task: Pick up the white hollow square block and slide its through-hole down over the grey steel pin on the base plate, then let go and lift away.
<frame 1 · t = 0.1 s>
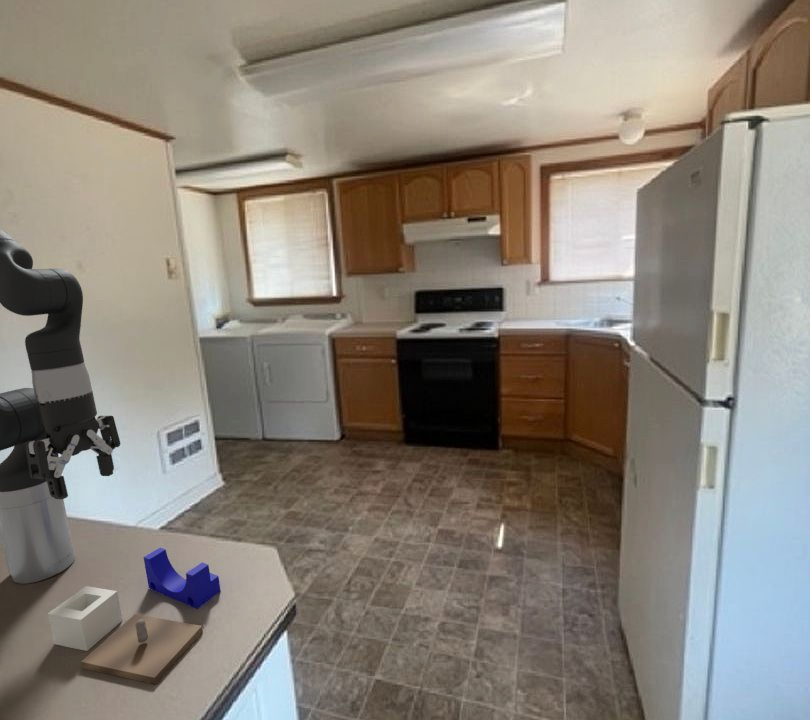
hand: (85, 486, 79), 17 cm above the counter, tool pointing down, fingers open, 8 cm apart
pin base: (144, 649, 65), on the counter
blue curved saddle bracket: (184, 591, 78), on the counter
white hollow square block: (89, 631, 69), on the counter
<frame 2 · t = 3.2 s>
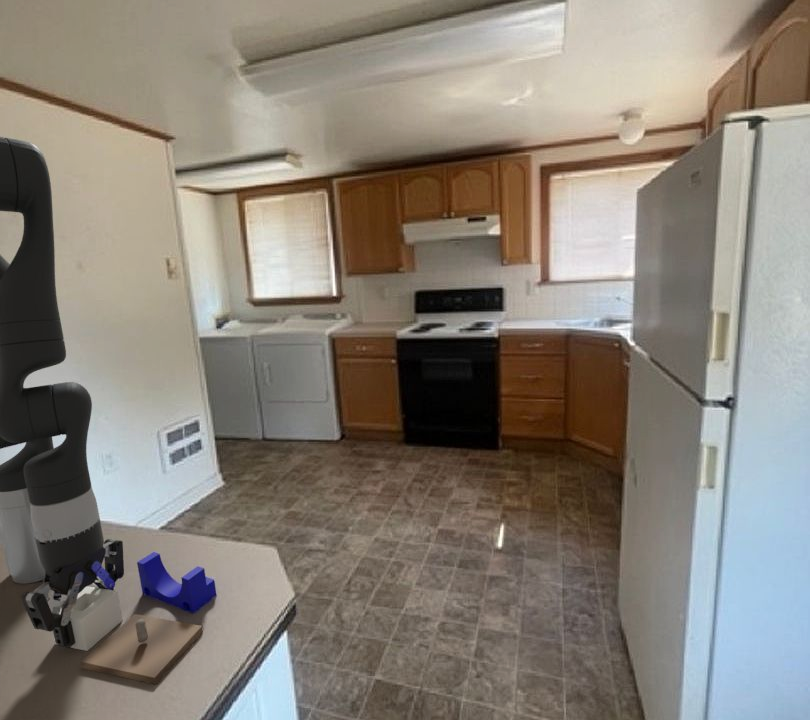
hand: (88, 627, 69), 1 cm above the counter, tool pointing down, fingers closed on white hollow square block, 6 cm apart
blue curved saddle bracket: (179, 596, 77), on the counter
white hollow square block: (89, 631, 69), on the counter, touching gripper
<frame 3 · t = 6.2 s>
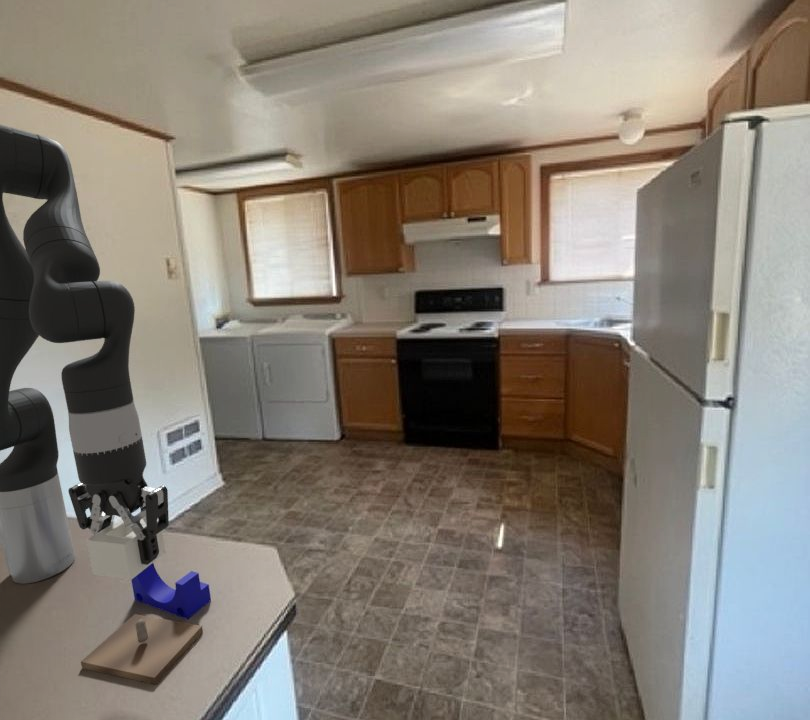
hand: (129, 557, 63), 14 cm above the counter, tool pointing down, fingers closed on white hollow square block, 6 cm apart
blue curved saddle bracket: (172, 602, 75), on the counter
white hollow square block: (130, 563, 63), point 13 cm above the counter, touching gripper
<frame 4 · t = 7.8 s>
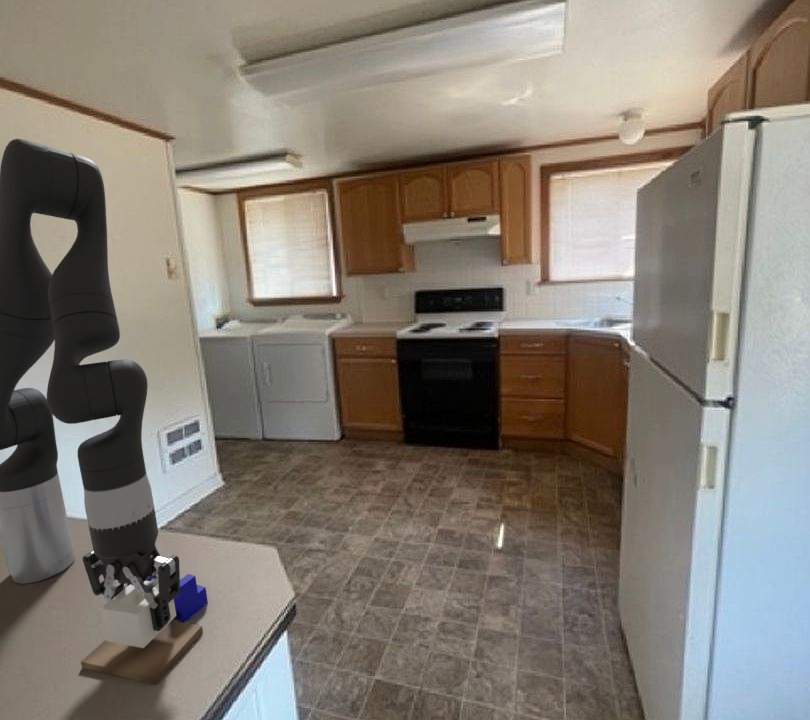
hand: (141, 622, 65), 4 cm above the counter, tool pointing down, fingers closed on white hollow square block, 6 cm apart
white hollow square block: (142, 628, 65), point 3 cm above the counter, touching gripper
when the fingers open (3 cm above the counter, at t = 9.1 s): white hollow square block stays where it is, resting on pin base.
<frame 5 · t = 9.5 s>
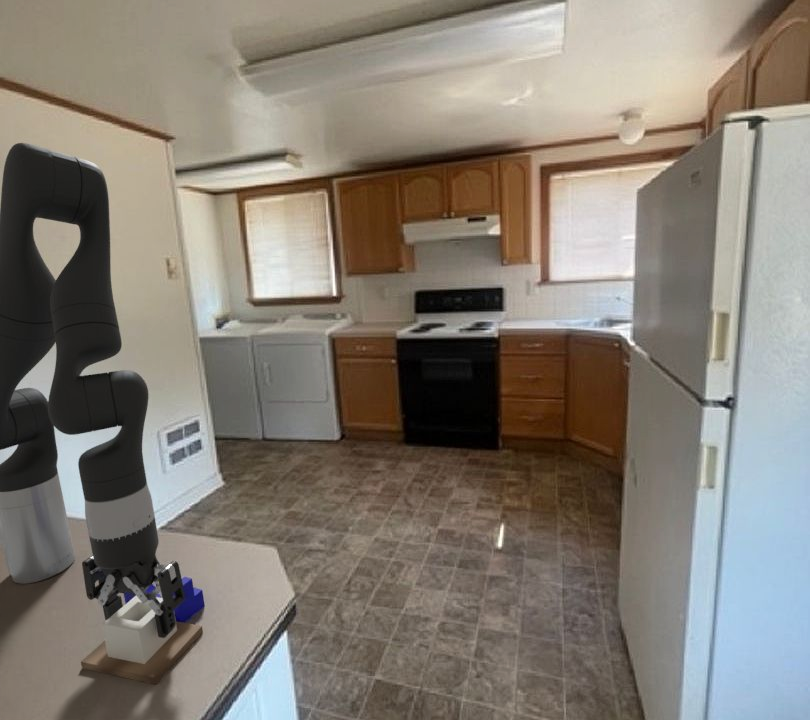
hand: (141, 628, 65), 3 cm above the counter, tool pointing down, fingers open, 8 cm apart
white hollow square block: (143, 643, 65), point 1 cm above the counter, touching pin base
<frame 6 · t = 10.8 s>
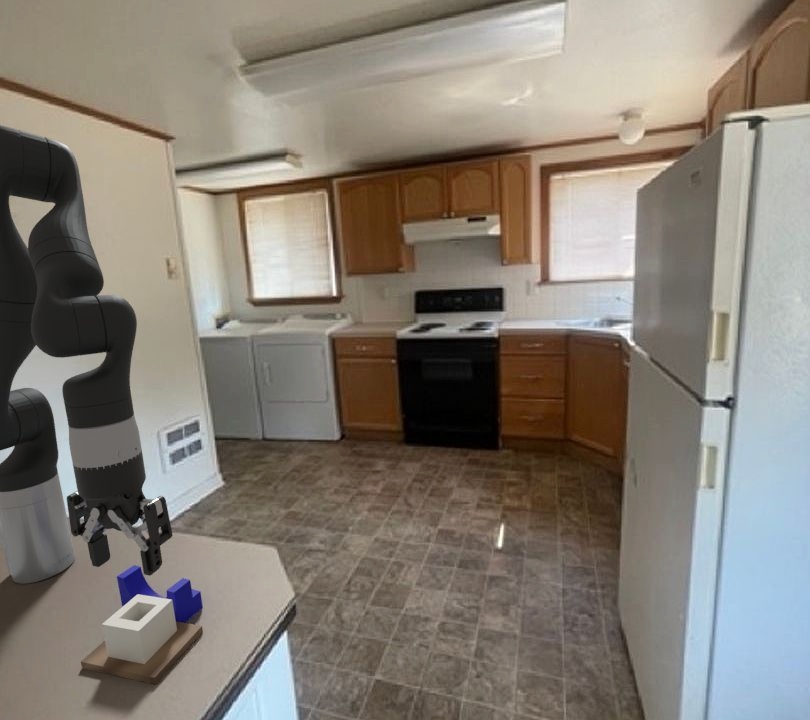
hand: (126, 567, 63), 13 cm above the counter, tool pointing down, fingers open, 8 cm apart
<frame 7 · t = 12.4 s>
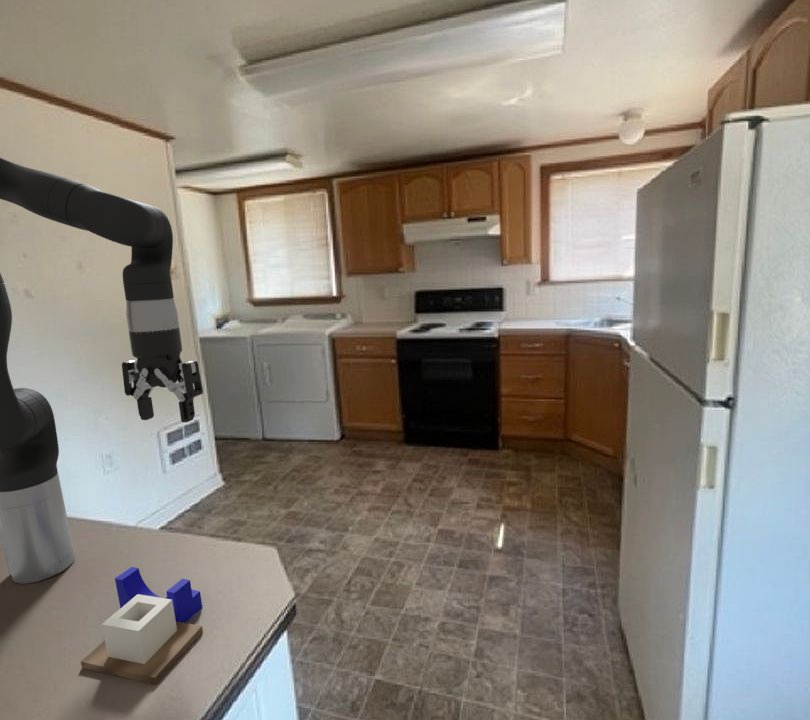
hand: (167, 420, 81), 27 cm above the counter, tool pointing down, fingers open, 8 cm apart
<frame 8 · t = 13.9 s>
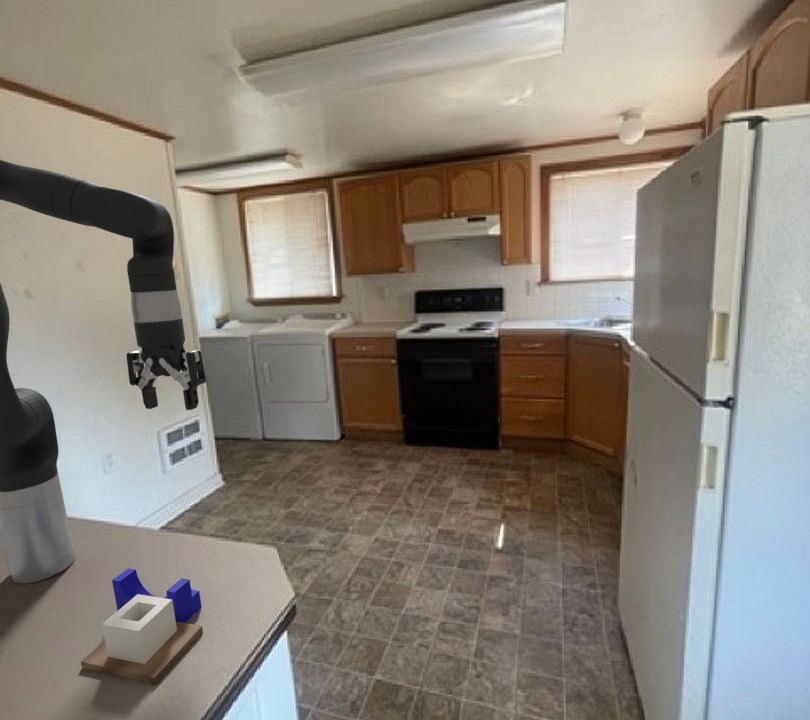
hand: (171, 408, 84), 28 cm above the counter, tool pointing down, fingers open, 8 cm apart
at the end: white hollow square block 0.0 cm from the pin base (horizontally); white hollow square block point 1.0 cm above the counter; the gripper is holding nothing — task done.
